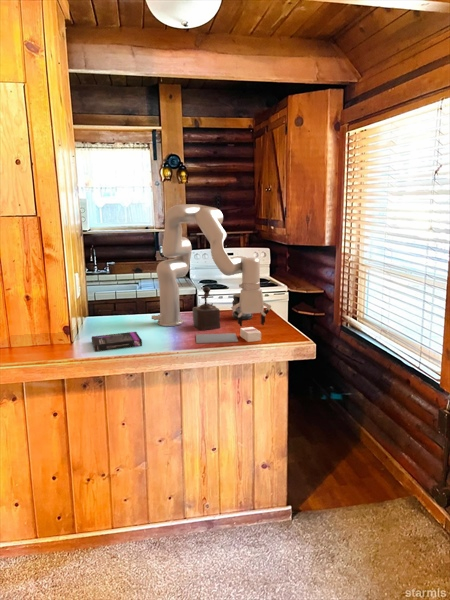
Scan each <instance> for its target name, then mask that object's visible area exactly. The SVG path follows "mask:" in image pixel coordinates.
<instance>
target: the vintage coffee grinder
mask: <svg viewBox="0 0 450 600" xmlns="http://www.w3.org/2000/svg"><path fill="white" fill-rule="evenodd" d="M202 292H203V295H204V296H201V297H200V298H201V299H204V303H203V304H201V305H199V306H194V307H192V321H193V322H192V324H193V327H195V328H196V329H197V330H199V331H209V330H216V329H220V328H221V324H220V323H221V321H220V320H221V315H220V310H221V309H220V308H218V307H217V306H216V305H213V303H212V302H211V303H208V300H207V298H208V297H209V296H211V295H210V292H211V288H210V287H209V286H204V287H203V288H202Z"/></svg>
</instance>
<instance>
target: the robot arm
mask: <svg viewBox="0 0 450 600" xmlns="http://www.w3.org/2000/svg"><path fill="white" fill-rule="evenodd" d="M223 221H224V215H223V213H222V211H221V209H218V208H217V207H213V206H209V205H208V206H207V205H202V204H196V203H195V204H194V203H193V204H186V203H185V204H184V203H183V204H182V203H181V204H176V205H173V206H171V207H169V208H168V209H167V210H166V212H165V215H164V230H163V231H164V232H163V241H162V248H161V252H162V255H163V256H164V257H165V258H168V259H165V260H162V261H160V262H159V263H158V264H157V266H156V275H157V279H158V287H159V289H158V290H159V308H160V310H159V311H160V312H159V314H157V315H154V314H153V315H151V320H153V321H157V324H158V325H159V326H162V327H175V326H180V325H182V324H183V323H184V319H182V318H181V314H180V312H181V311H180V288H179V286H180V285H179V284H178V282H177V279H179V278H182V277H185V276H186V275H187V274H188V272H189V270H190V264H191V257H192V252H193V251H192V249H193V247H192V244H191V241H190V240H189V238H187V237H185V236H183V230H184V229H183V227H182V224H190V223H191V224H193V223H196V224H197V226H198V227H199V229H200V230H201V232H202V233H203V235H204V236H205V238H206V240H207V241H208V242H209V244H210V253H211V257H212V260H213V263H214V264H215V265H216V267H217V268H218V270H219V272H221V274H223V275H224V276H229V277H230V276H234V275H239V274H241V277H242V278H241V279H242V280H241V283H239V284H238V287H239V288H241V289H240V293H239V294H240V303H238V304H236V305H234V306H233V305H232V306H231V310H232V313H233V312H234V314H236V315H237V316H238V320H237V324H238V325H239V327H242V326H243V320H242V317H241V315H242V314H243V313H252V314H260V324H261V325H262V326H264V325H265V323H266V316H267V315H268V314H269V312H270V310H271V307H272V305H271V304H268V303H267V302H264V294H263V291H262V289H261V284H260V283H261V282H260V281H261V280H260V279H261V278H260V277H261V276H260V271H261V270H260V268H261V267H260V265H261V264H260V260H259V258H257V257H245V256H243V255H242V256H241V255H240V256H239V255H238V256H229V254H228V253H227V252H226V250H225V248H224V247H225V246H224V241H225V240H226V239H227V236H228V234H227V232H226V230H225V229H224V228H223V226H222V224H223ZM239 306H240V311H239V312H237V311H236V310H235V309H236V308H238V307H239ZM265 307H266V309H265ZM264 309H265V310H264Z"/></svg>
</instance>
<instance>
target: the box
mask: <svg viewBox="0 0 450 600" xmlns="http://www.w3.org/2000/svg"><path fill="white" fill-rule="evenodd" d="M91 343H92V346H93V350H94V352H95V353H96V352H103V351H112V350H119V349H128V348H137V347H142V346H143V340H142V338H141V337H140V335H139V334H138V332H137V331H127V332H120V333H110V334H103V335H94V336H93V335H92V336H91Z"/></svg>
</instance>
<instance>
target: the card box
mask: <svg viewBox="0 0 450 600" xmlns="http://www.w3.org/2000/svg"><path fill="white" fill-rule="evenodd" d="M239 329H240V330H239V331H240V333H239V335H240V337H241V338H242V339H244V340H245V341H246V342H247V343H251V342H260V341H262V332H261V331H260V330H258V329H257V328H255V327H253V326H249V327H248V326H247V327H240V328H239Z"/></svg>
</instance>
